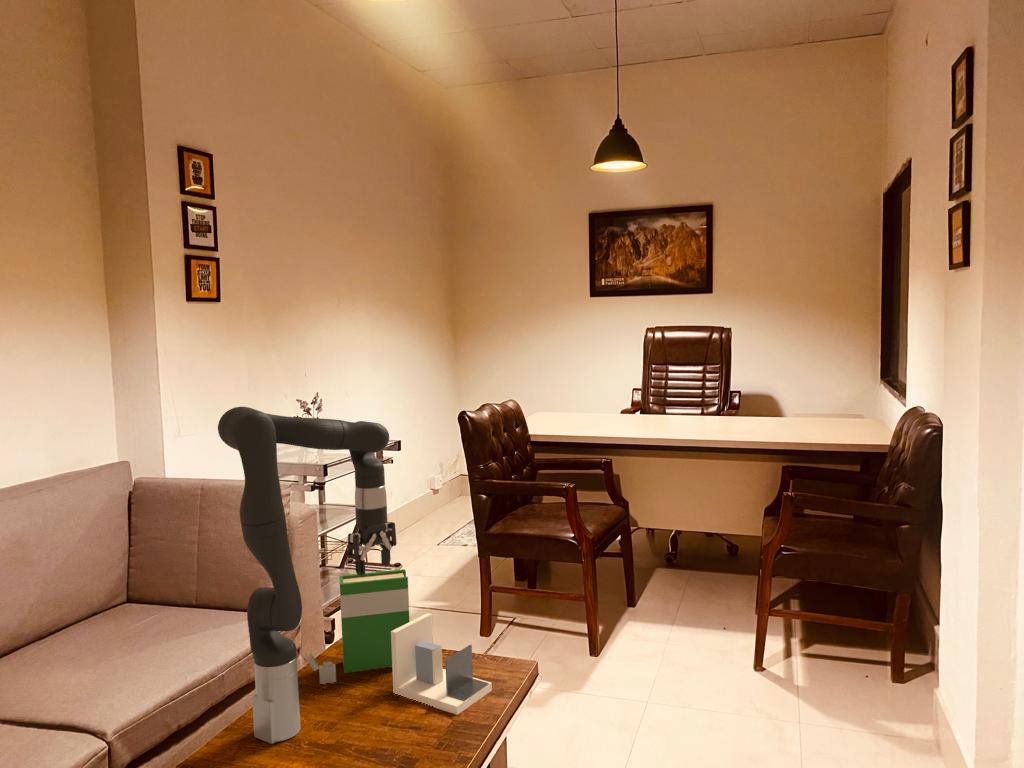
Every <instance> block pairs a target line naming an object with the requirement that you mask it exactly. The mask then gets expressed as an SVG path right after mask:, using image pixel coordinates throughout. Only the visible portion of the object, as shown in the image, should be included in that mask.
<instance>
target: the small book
mask: <svg viewBox="0 0 1024 768" xmlns="http://www.w3.org/2000/svg"><path fill="white" fill-rule="evenodd" d="M415 655H416V680H419V681H422V682H425V683H429V684H432V685H436V684H438V683H440V682H441V681H443V669H444V667H443V646H442V645H439V644H436V643H434V642H433V643H429V642H425V641H422V642H420V643H418V644H416V645H415Z"/></svg>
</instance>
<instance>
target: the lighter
mask: <svg viewBox="0 0 1024 768" xmlns="http://www.w3.org/2000/svg"><path fill="white" fill-rule="evenodd" d="M305 657H306V658H305V659H306V660H307V661H308V663H309V666H310V667H311V668H312V671H313V672H316V671H317V670H318V673H319V674H318V676H319V677H318V679H319V685H320V684H323V685H327V684H326V683H330V684H335V683H334V682H336V683H337V668H336V663H333V661H323V663H322V665H320V664H319V663H318V662H317V661H316V658H315V657H314V656H313V654H312V652H310V653H308V654H307V655H306V656H305Z"/></svg>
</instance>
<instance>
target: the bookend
mask: <svg viewBox="0 0 1024 768" xmlns="http://www.w3.org/2000/svg"><path fill="white" fill-rule="evenodd" d="M444 663H445V669H446V693H447V696H450V697H453V698H456V699H459V700H462V701H465V700H467V699H468V698H470V697H471V696H473V695H474V694H476V693H477V692H479V691H480V690H482V689H483V688H484V687H486V686H487V685H489V683H487V682H488V681H487V682H483V681H480V680H481V679H480V680H476V679H473V678H474V677H473V675H474V674H473V673H474V672H473V646H472V644H469V645H468V646H465V647H464V648H462V649H460V650H459V651H457V652H456V653H454V654H452V655H450V656H449V657H447V658H445V661H444Z"/></svg>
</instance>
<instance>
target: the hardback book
mask: <svg viewBox="0 0 1024 768" xmlns="http://www.w3.org/2000/svg"><path fill="white" fill-rule="evenodd" d="M338 579H339V594H340V595H339V599H340V601H339V602H340V619H341V620H340V621H341V640H342V661H343V663H342V664H343V674H348V673H357V671H358V672H364V671H363V670H366V671H370V670H369V669H374V670H377V669H376V668H382V667H389V668H392V667H391V666H392V646H391V631H393V630H395V629H397V628H399V627H401V626H403V625H405V624H407V623H409V622H411V620H410V604H409V603H410V598H409V577H408V576H406V569H405V568H403V569H395V570H394V569H392V570H382V571H374V572H373V571H372V572H365V575H363V576H361V575H358V574H357V573H352V574H342V575H339V577H338ZM382 669H383V668H382Z"/></svg>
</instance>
